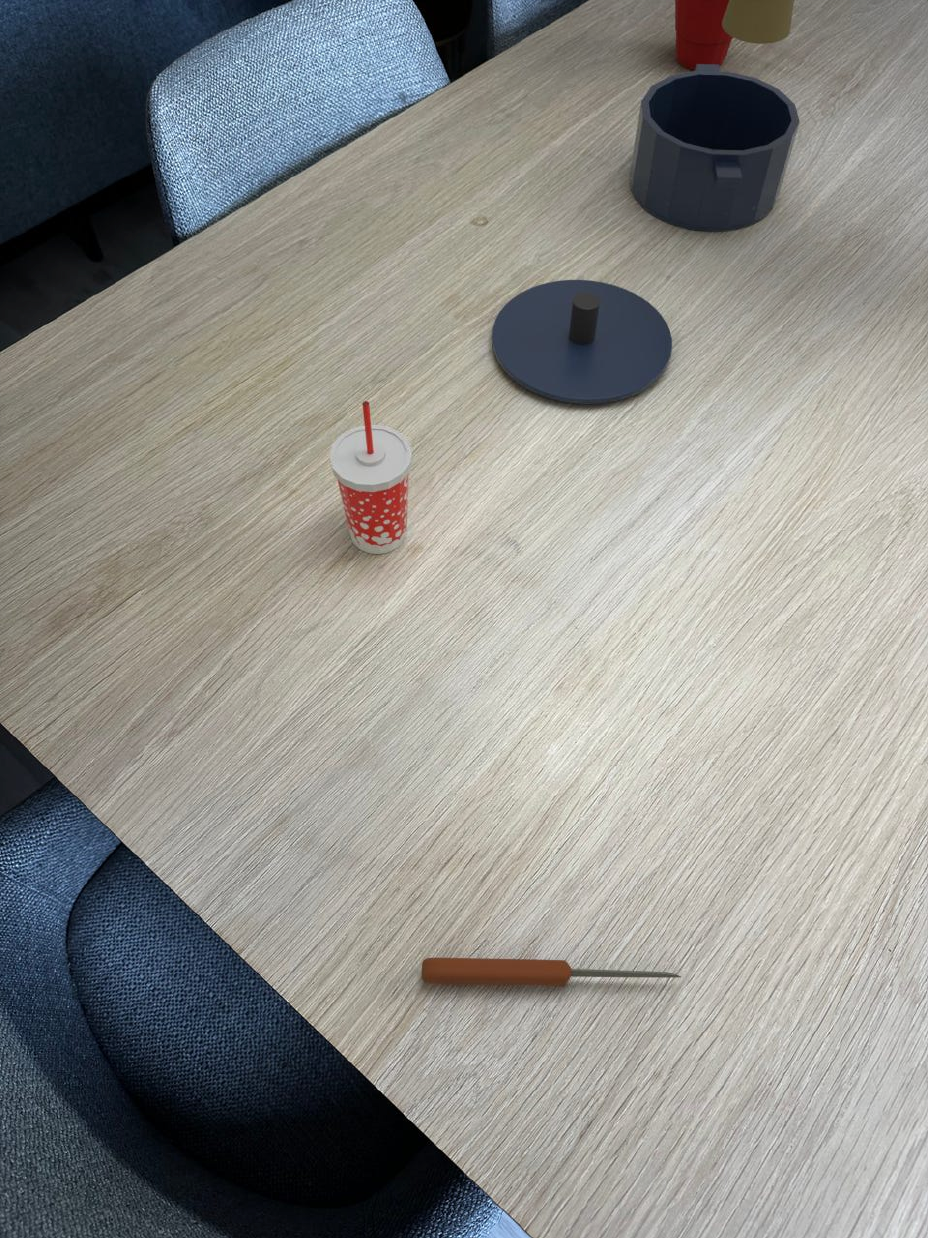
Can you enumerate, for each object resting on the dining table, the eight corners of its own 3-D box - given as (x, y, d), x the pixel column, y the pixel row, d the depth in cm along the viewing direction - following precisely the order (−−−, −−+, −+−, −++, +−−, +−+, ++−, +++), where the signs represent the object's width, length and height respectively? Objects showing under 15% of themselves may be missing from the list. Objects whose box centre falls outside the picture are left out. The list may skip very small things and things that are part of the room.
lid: (663, 291, 101) (672, 245, 97) (677, 411, 92) (688, 366, 87) (493, 287, 101) (494, 240, 97) (489, 406, 92) (491, 361, 88)
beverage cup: (401, 569, 81) (392, 443, 70) (329, 551, 82) (308, 423, 71) (426, 512, 85) (421, 383, 73) (356, 496, 86) (340, 365, 74)
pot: (763, 135, 117) (782, 58, 110) (790, 249, 105) (814, 172, 98) (624, 131, 117) (635, 55, 110) (636, 245, 105) (649, 168, 98)
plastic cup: (653, 34, 130) (669, -73, 120) (740, 39, 129) (763, -68, 120) (653, 79, 124) (670, -30, 114) (744, 84, 123) (769, -25, 113)
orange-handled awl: (421, 987, 63) (420, 977, 62) (422, 964, 64) (421, 954, 62) (680, 992, 63) (686, 983, 61) (677, 969, 64) (683, 960, 62)
